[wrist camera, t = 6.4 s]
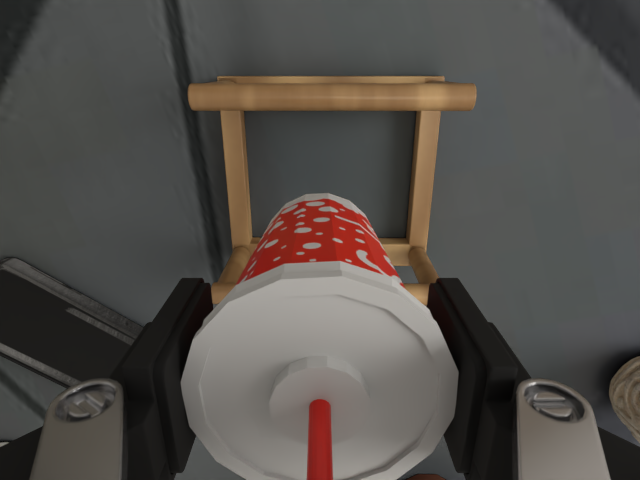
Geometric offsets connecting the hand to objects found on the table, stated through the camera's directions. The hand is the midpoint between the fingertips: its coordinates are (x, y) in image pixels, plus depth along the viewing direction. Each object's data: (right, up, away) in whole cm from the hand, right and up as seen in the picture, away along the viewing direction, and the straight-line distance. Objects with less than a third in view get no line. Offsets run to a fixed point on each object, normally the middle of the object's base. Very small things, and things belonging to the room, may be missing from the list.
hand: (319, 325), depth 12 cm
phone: (-18, -5, +21) cm, 28 cm away
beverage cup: (0, +2, +6) cm, 6 cm away
